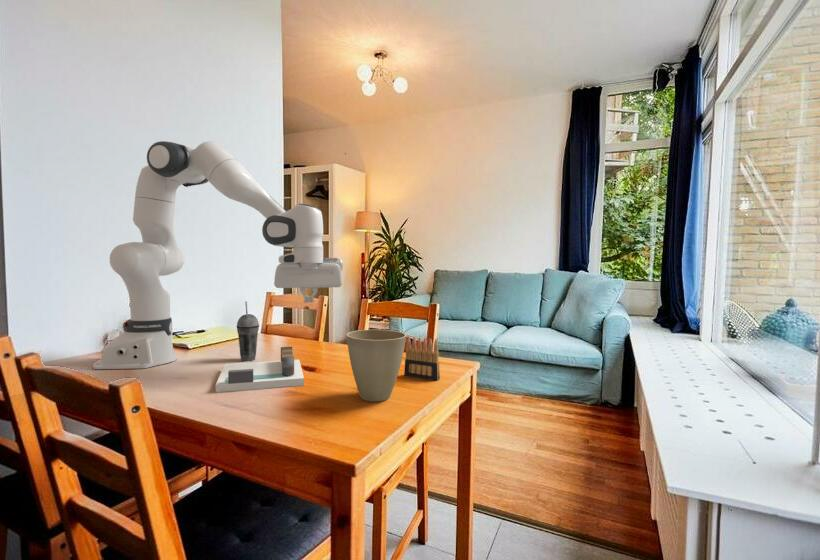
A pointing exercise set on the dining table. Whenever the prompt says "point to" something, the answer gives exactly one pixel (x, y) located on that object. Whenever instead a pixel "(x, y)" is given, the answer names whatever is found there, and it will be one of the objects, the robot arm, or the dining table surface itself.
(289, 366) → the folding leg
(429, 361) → the ammunition clip
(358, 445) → the dining table surface
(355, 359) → the plant pot
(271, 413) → the dining table surface
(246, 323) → the beverage cup
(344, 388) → the dining table surface
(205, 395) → the dining table surface
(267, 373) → the shallow rectangular tray
